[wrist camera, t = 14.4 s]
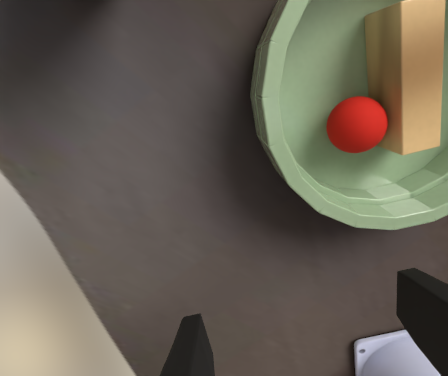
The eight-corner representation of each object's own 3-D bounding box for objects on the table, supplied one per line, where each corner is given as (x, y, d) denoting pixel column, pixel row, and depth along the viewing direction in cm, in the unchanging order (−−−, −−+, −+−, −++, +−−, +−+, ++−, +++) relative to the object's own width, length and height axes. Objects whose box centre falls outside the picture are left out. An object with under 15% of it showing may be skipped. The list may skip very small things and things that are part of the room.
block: (402, 135, 17) (440, 146, 15) (370, 144, 17) (402, 156, 15) (401, 5, 15) (446, -11, 12) (363, 15, 15) (400, 1, 12)
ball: (331, 127, 18) (357, 166, 17) (307, 117, 16) (334, 161, 15) (374, 93, 16) (407, 133, 15) (354, 76, 14) (389, 121, 13)
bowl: (479, 175, 19) (545, 198, 16) (269, 220, 20) (284, 253, 16) (515, -98, 14) (627, -162, 10) (227, -33, 14) (235, -73, 11)
